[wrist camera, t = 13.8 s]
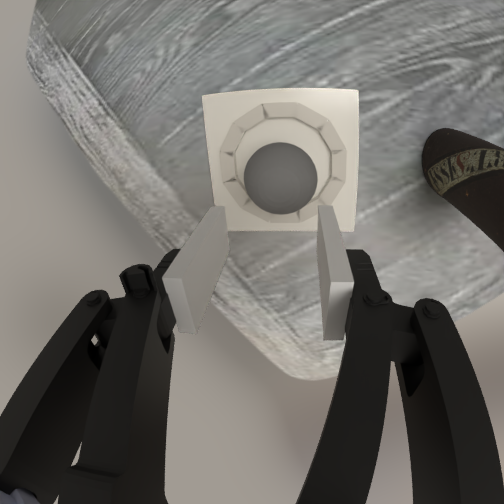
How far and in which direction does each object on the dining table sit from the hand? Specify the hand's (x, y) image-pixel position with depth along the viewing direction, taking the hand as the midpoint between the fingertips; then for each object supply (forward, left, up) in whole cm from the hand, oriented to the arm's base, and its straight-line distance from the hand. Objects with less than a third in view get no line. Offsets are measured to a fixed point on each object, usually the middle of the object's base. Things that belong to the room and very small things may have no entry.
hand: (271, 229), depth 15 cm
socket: (0, 0, -17) cm, 17 cm away
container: (+20, +1, -17) cm, 26 cm away
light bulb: (0, 0, -16) cm, 16 cm away
